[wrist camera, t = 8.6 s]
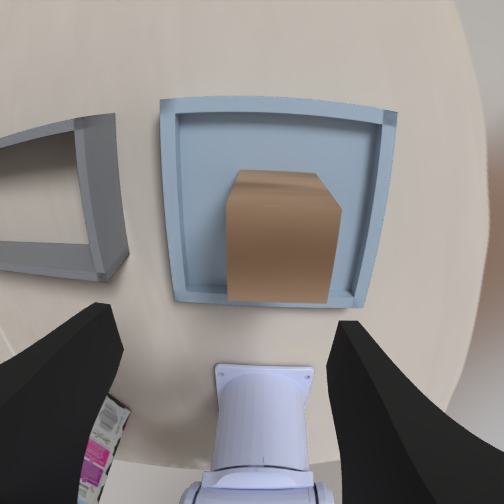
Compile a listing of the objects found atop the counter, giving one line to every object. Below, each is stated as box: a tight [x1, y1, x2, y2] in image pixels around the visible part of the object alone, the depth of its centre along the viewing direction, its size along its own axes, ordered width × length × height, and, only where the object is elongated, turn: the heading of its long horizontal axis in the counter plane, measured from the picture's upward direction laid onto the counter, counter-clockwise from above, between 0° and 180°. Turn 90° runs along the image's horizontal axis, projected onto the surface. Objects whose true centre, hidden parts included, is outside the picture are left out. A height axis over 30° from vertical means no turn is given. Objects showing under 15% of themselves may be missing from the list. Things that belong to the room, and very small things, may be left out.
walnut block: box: [226, 170, 342, 304], centre depth 14 cm, size 4×4×6 cm
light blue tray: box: [160, 96, 397, 308], centre depth 16 cm, size 12×12×2 cm
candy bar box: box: [77, 394, 131, 504], centre depth 21 cm, size 11×5×16 cm, turn 128°
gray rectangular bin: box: [0, 113, 129, 282], centre depth 15 cm, size 9×17×4 cm, turn 89°
